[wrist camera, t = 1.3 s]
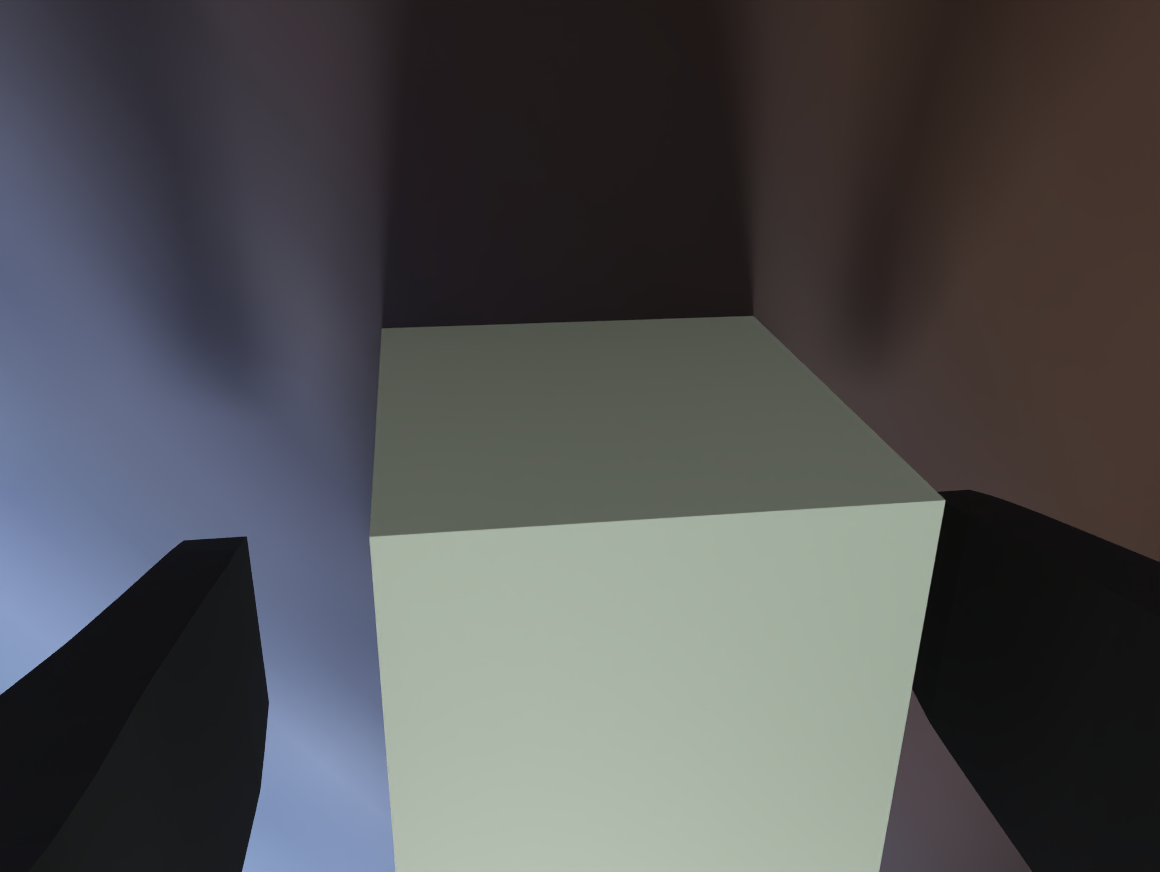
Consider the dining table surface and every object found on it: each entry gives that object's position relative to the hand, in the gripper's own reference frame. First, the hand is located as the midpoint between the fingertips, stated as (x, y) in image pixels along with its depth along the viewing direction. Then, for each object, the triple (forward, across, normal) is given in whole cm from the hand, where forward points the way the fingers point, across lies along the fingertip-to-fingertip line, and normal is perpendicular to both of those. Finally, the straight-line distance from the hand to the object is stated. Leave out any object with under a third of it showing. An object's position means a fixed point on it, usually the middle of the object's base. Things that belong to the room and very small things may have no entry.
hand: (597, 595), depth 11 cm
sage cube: (+2, 0, 0) cm, 3 cm away
